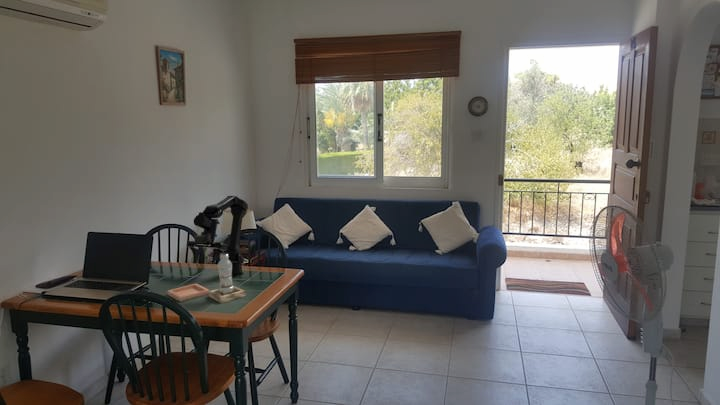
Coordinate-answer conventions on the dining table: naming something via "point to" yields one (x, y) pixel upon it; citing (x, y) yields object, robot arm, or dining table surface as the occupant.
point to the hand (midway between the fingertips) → (203, 263)
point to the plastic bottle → (225, 275)
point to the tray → (188, 292)
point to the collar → (216, 295)
